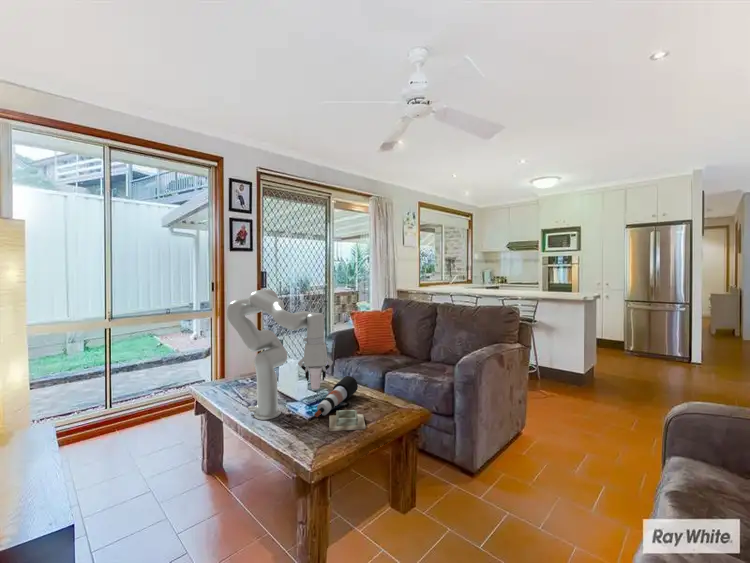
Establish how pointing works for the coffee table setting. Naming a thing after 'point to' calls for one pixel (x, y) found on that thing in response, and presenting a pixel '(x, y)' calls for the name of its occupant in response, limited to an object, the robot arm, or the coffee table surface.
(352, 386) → the white black banded cylinder
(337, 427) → the end holder
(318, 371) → the smoothie
